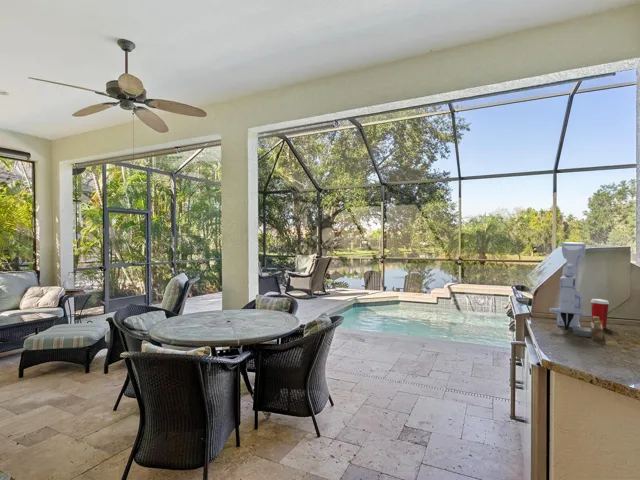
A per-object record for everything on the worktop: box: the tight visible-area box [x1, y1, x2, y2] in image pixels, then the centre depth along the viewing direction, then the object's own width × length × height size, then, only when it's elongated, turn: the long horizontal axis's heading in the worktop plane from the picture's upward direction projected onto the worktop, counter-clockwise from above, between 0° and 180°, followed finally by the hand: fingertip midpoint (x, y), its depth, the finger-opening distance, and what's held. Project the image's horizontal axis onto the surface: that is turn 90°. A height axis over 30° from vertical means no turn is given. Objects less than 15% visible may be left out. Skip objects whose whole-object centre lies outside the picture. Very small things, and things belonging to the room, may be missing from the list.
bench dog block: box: [590, 316, 604, 342], centre depth 165 cm, size 4×14×8 cm, turn 144°
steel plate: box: [572, 326, 591, 338], centre depth 168 cm, size 7×7×3 cm
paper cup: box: [590, 298, 610, 329], centre depth 182 cm, size 8×8×14 cm
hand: (566, 328), depth 172 cm, fingers closed
